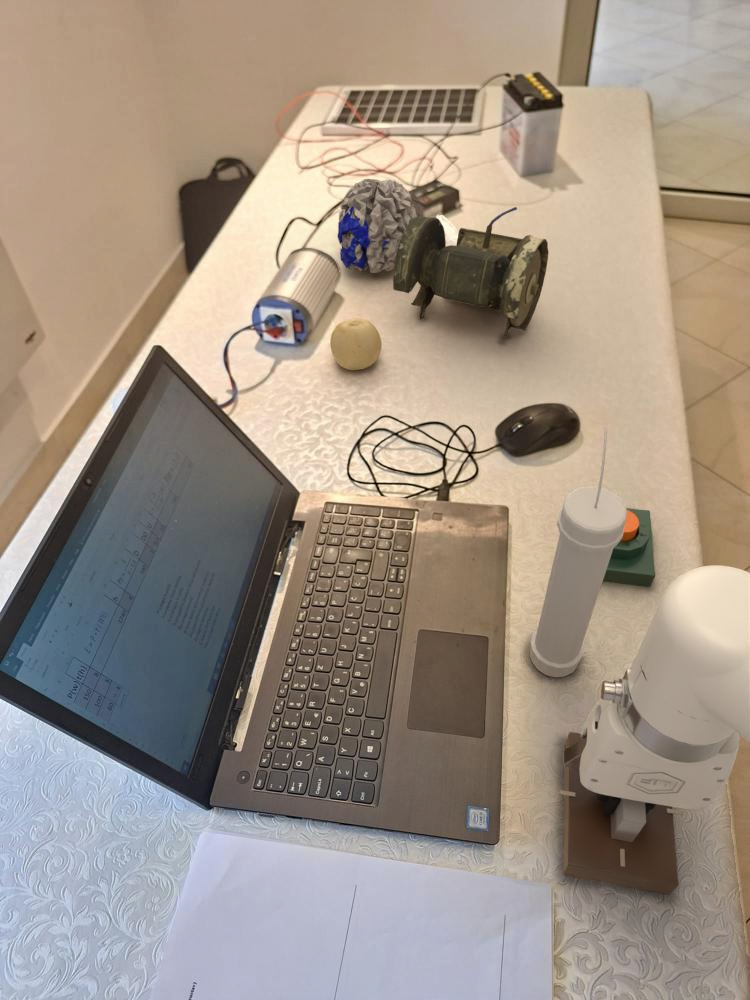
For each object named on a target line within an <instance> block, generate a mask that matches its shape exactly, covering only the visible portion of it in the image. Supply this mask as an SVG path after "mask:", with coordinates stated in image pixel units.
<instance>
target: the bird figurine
mask: <svg viewBox="0 0 750 1000" xmlns="http://www.w3.org/2000/svg"><path fill="white" fill-rule="evenodd" d="M435 218H438V219H439V220H440V222H441V224H442V225H443V227H444V232H445V241H446V246H450V245H453V246H456V245H457V239H458V233H459V230H458V229H457V227H456V226H455V225H454V224H453V223H452V221H450V220H449V219H448V218H447V217H446V216H444V214H439V213H437V215H436V216H435Z"/></svg>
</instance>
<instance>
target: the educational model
mask: <svg viewBox="0 0 750 1000" xmlns="http://www.w3.org/2000/svg"><path fill="white" fill-rule="evenodd" d="M338 213H339V214H338V222H337V223H338V224H337V228H338V229H337V230H338V231H337V236H336V237H337V240H338V242H339V245H340V246H341V248H340V250H339V251H340V252H339V253H340V254H339V255H340V261H341V262H342V263H343V265H344V267H345V268H346V269H350V270H354V269H357V270H358V271H359V272H362V271H364V272H365V271H367V269H369V272H370V274H374V273H375V274H376V273H380V272H382V271H385V272H388V273H389V272H390V271H392V270H394V264H395V258H396V253H397V249H398V246H399V243H400V240H401V237H402V235H403V233H404V231H405V229H406V227H407V226H408V224H409V223H410V222H411V221H412V220H413V219H414V218H415V217H417V216H418V215H417V209H416V208H415V206H414V201H413V199H412V195H411V193H410V191H408V189H406V188H405V186H404V185H403V184H402V183H399V182H398V181H396V180H394V179H389V178H388V179H385V180H379V179H373V178H364V179H362V180H361V181H358V182H355V184H354V185H353V186H351V187H350V188H349V189H348V190H347V192H346V193H345V195H344V198H343V202H342V204H341V205H340V211H339V212H338Z"/></svg>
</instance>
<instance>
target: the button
mask: <svg viewBox="0 0 750 1000" xmlns="http://www.w3.org/2000/svg"><path fill="white" fill-rule="evenodd" d="M638 527H639V520H638V518H637V516H636V515H635V514H634V513H632V512H630V511H628V510H627V517H626V522H625V527H624V533H623V537H622V539H621V540H620V542H626V541H630V540H632V539H633V538H634V537H635V535H636V532H637V530H638Z"/></svg>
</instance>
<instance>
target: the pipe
mask: <svg viewBox="0 0 750 1000" xmlns="http://www.w3.org/2000/svg"><path fill="white" fill-rule="evenodd" d="M603 432H604V433H603V450H602V459H601V469H600V476H599V482H598V486H595V485H587V486H586V485H585V486H579V487H577V488H575V489H573V490H571V492H569V493H568V494H567V495H566V497H565V498H564V500H563V503H562V509H560V511H559V514H558V518H557V522H556V524H557V528H558V529H557V530H558V533H559V534H558V535H559V536H558V540H557V544H556V547H555V554H554V557H553V561H552V565H551V569H550V574H549V579H548V583H547V588H546V592H545V596H544V601H543V605H542V609H541V613H540V616H539V621H538V626H537V627H536V628H535V630H534V631H533V632H532V635H531V639H530V643H529V645H530V649H529V656H530V660H531V663H532V664H533V665H534V667H535V668H536V669H537V671H539V672H541V673H542V674H543V675H545V676H548V677H552V678H564V677H567V676H569V675H570V674H573V673H574V671H575V670H576V669H577V668H578V667H579V664H580V662H581V660H582V659H583V656H584V651H585V645H584V640H585V638H586V634H587V630H588V628H589V624H590V621H591V618H592V616H593V612H594V609H595V606H596V603H597V600H598V598H599V593H600V591H601V588H602V584H603V582H604V581H603V579H604V576H605V573H606V570H607V566H608V563H609V560H610V557H611V554H612V551H613V548H614V547H615V546H616V545H617V544H618V543H619V542H620V540H621V539H622V537H623V533H624V527H625V522H626V517H627V510H626V508H627V507H626V504H625V502H624V501H623V499H622V498H620V497H619V495H618V494H617V493H615V492H613V491H612V490H610V489H607V488H605V487H602V484H603V480H604V479H603V478H604V472H605V464H606V454H607V441H608V440H607V439H608V428H607V427H605V428H604V431H603Z"/></svg>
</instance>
